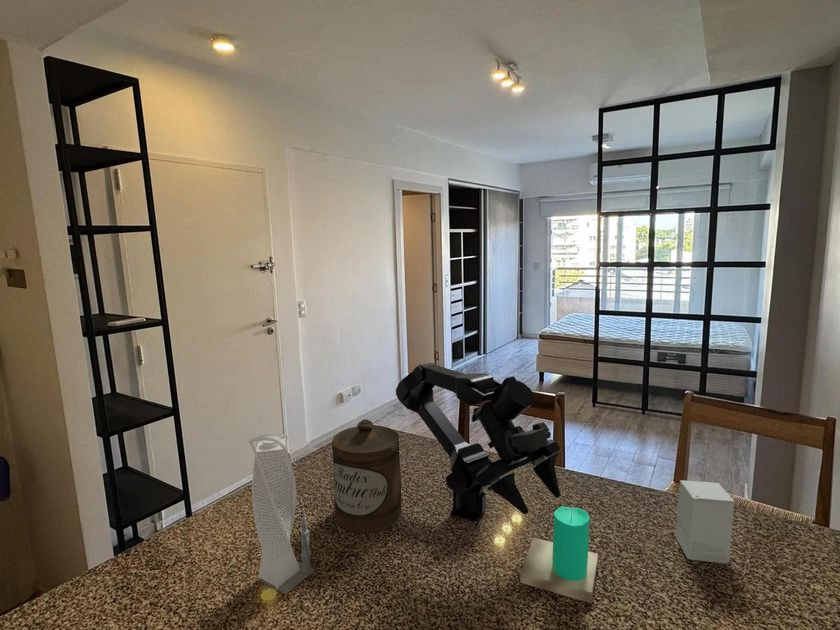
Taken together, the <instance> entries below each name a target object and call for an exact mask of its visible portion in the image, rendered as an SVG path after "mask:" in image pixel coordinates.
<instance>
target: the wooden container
mask: <svg viewBox="0 0 840 630" xmlns="http://www.w3.org/2000/svg"><path fill="white" fill-rule="evenodd" d="M331 440H332V442H331V448H332V456H333V459H332V460H333V462H332V463H333V496H334V497H333V499H334V515H335V521H336V523H337V524H338V526H340V527H341V528H342V529H345V530H346V531H349V532H353V533H359V534H360V533H361V534H371V533H377V532H381V531H384V530H387V529H389V528H390V527H392V526H394V525H395V524H396V523H397V522H398V521H399V520H400V518H401V516H402V508H403V506H402V479H401V478H402V476H401V475H402V473H401V459H400V438H399V434H398V432H397V431H396V430H394V429H393V428H391V427H388V426H383V425H375V424H374V423H373V421H372V420H369V419H362V420H361V421H359V422H358V423H357V425H356V426H353V427H350V428H349V427H348V428H347V429H344V430H342V431H341V430H340V431H339V432H338V433H336V434H335V435H334V436H333V438H332V439H331Z"/></svg>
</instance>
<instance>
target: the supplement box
mask: <svg viewBox="0 0 840 630" xmlns="http://www.w3.org/2000/svg"><path fill="white" fill-rule="evenodd" d="M677 503H678V504H677V515H676V527H675V539H676V540H677V542H678V544H679V545H680V547H681V549H682V551H683V553H684V554H685V556H686V558H687V560H690V561H691V560H692V561H699V562H707V563H708V562H709V563H710V562H711V563H716V564H717V563H718V564H719V563H720V564H730V557H731V556H730V555H731V545H732V534H733V523H734V522H733V521H734V511H735V503H736V502H735V500H734V499H733V498H732V497H731V496H730V495H729V493H728V492H727V491H726V490H725V488H724V487H722V485H721V484H720V483H719V482H711V481H709V482H708V481H697V480H696V481H695V480H682V479H681V480H679V488H678V501H677Z"/></svg>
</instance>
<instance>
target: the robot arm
mask: <svg viewBox="0 0 840 630" xmlns="http://www.w3.org/2000/svg"><path fill="white" fill-rule="evenodd" d="M494 378H495V377H494V376H492V375H491V374H490V373H485V372H484V373H482V372H478V373H463V372H462V371H461V372H460V371H457V370H454V369H451V368H447V367H444V366H440V365H437V364H436V363H433V362H428V363H422V364H418V365H416V367H414V369H413V370H412V372H409V374H408V375H406V376H405V377H403V378H402V379H401V380H400V381H399V383H398V384H397V387H396V388H395V395H396V398H397V399H398V401H399V402H400V403H401V404H402V405H403V406H404V407H405V408H406V409H407V410H409V411H410V412H411V411H412V412H413V413H416V414H418V416H419V417H420V418H421V419H422V422H424V424H425V425H426V426H427V428H428V429H429V431H430V432H431V434H432V435H433V436H434V438H435V439H436V440H437V442H438V443H439V444H440V445H441V447H442V448H443V450H444V451H445V452H446V454H447V455H448V457H449V458H450V459H449V463H450V471H451V473H450V474H447V476H446V477H445V482H446V486H447V488H448V489H450V490H451V491H452V509H451V510H450V512H449V515H450V516H452V517H457V518H460V519H463V520H464V519H465V520H468V521H473V522H478V521H479V520H480V518H481V517H482V516H483V515H484V513H485V512H486V510H487V509H486V508H487V507H486V506H487V504H486V503H487V497H486V496H487V493H486V492H485V491H484V490H485V489H484V488H485V487H486V489H487V491H488V492H489V491H492V492H494V493H495V494H497V495H498V496H500V497H501V498H503V499H504V500H506V501H507V502H508V503H510V505H512V506H513V507H514V508H516V509H517V510H518V511H519V512H520V513H522V514H523V515H527V514H529V511H530V510H529V509H528V507H527V503H526V502H525V501H524V498H523V497H522V494H521V492H520V491H519V488H518V487H517V485H516V481H515V472H512V471H514V470H517V469H519V468H521V467H524V466H527V465H528V464H530V465H533V466H534V467H533V468H532V470H533V472H534V473H535V474H536V475H537V476H538V478H539V479H540V480H541V482H542V483H543V484H544V486H546V488H547V490H548V491H549V492H550V493H551V494H552V495H553V496H554V497H555V498H560V497H561V491H560V486H559V482H558V478H557V472H556V467H555V464H556V460H557V458H558V457H559V453H558V452H560V451H562V449H561V448H560V446H559V445H558V443H557V441H555V440H553V439H552V438H551V436H552V435H551V434H552V433H551V431H550V428H549V427H548V426H547V425H546V423H545V421H542V422H537V423H534V424H533V425H532V429H531V430H526V431H525V430H524V429H523V427H522V426H521V425H517V426H516V425H515V424H514V422H513V420H515V419H517V418H518V417H519V416H520V415H521V414H523V413H524V412H525V411H526V410H527V409H528V408H530V407H531V406H532V405H533V403H534V401H535V396H534V393H533V390H532V389H531V387H529V386H528V385H526V384H525V383H524V382H523V381H520V380H517V378H516V377H515V376H514V375H512V376H508V377H506V378H504V379H503V381H502V382H500V381H497V380H496V379H494ZM434 387H438V388H441V389H444V390H446V391H449V392H451V393H454V394H455V395H456V398H457V399H458V400H459V401H460V402H462V403H464V404H465V405H467V406H471V407H472V406H475V405H478V404H482V406H478V407H475V408H473V414H472V416H471V422H472V423H474V422H477V421H478V422H480V424H481V426H482V428H483V429H484V431H485V433H486V435H487V437H488V439H489V440H490V441H489V442H488V443H487V446H488V447H489V449H494V450H495V451H496V453H497V455H498V457H499V458H500V459H498V460H495V461H492V459H491V458H490V454H489V453H487V452H486V451H485V449H484V448H483V446H482V444H480V443H479V442H475V443H473V444H472V443H471V444H470V443H468V442H467V441H466V440H465V439H464V438H463V436H462V435H461V434H460V432H459V431H458V430H457V428H456V427H455V426H454V425H453V424H452V422H451V421H450V420H449V418H448V417H447V416H446V414H445V413H444V412H443V411H442V409H441V408H440V407H439V406H438V404H437V403H436V402H435V400H434ZM485 402H486V403H485ZM483 403H484V404H483ZM510 472H511V473H510Z"/></svg>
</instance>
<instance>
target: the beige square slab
mask: <svg viewBox="0 0 840 630" xmlns="http://www.w3.org/2000/svg"><path fill="white" fill-rule="evenodd" d="M552 557H553V541H548V540H545V539H542V538H537V537H533V538H532V541H531V544H530V545H529V549H528V551H527V554H526V557H525V559H524V561H523V564H522V568H521V571H520V574H519V575H520V581H519V583H520V584H523V585H528V586H531V587H534V588H537V589H541V590H545V591H548V592H551V593H555V594H558V595H561V596H565V597H568V598H571V599H575V600H579V601H581V602H586V603H589V604H592V602H593V596H594V595H593V594H594V589H595V582H596V576H597V570H598V560H599V558H598V557H599V553H596V552H592V551H589V550H588V564H587V574H586V577H585V578H583V579H581V580H575V581H571V580H567V579H564V578H561V577H560V576H559V575H557V574H556V573H555V572H554V570H553V568H552Z"/></svg>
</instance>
